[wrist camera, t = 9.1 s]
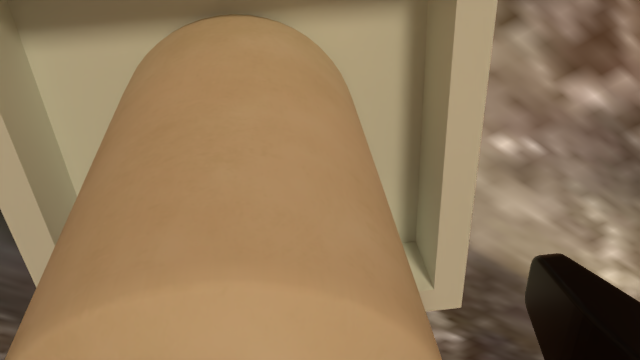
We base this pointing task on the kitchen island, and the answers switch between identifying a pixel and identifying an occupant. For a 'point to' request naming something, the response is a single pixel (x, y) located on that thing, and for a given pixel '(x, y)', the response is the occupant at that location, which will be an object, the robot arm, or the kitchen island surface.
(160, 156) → the candle
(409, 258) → the parts tray
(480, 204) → the kitchen island surface
